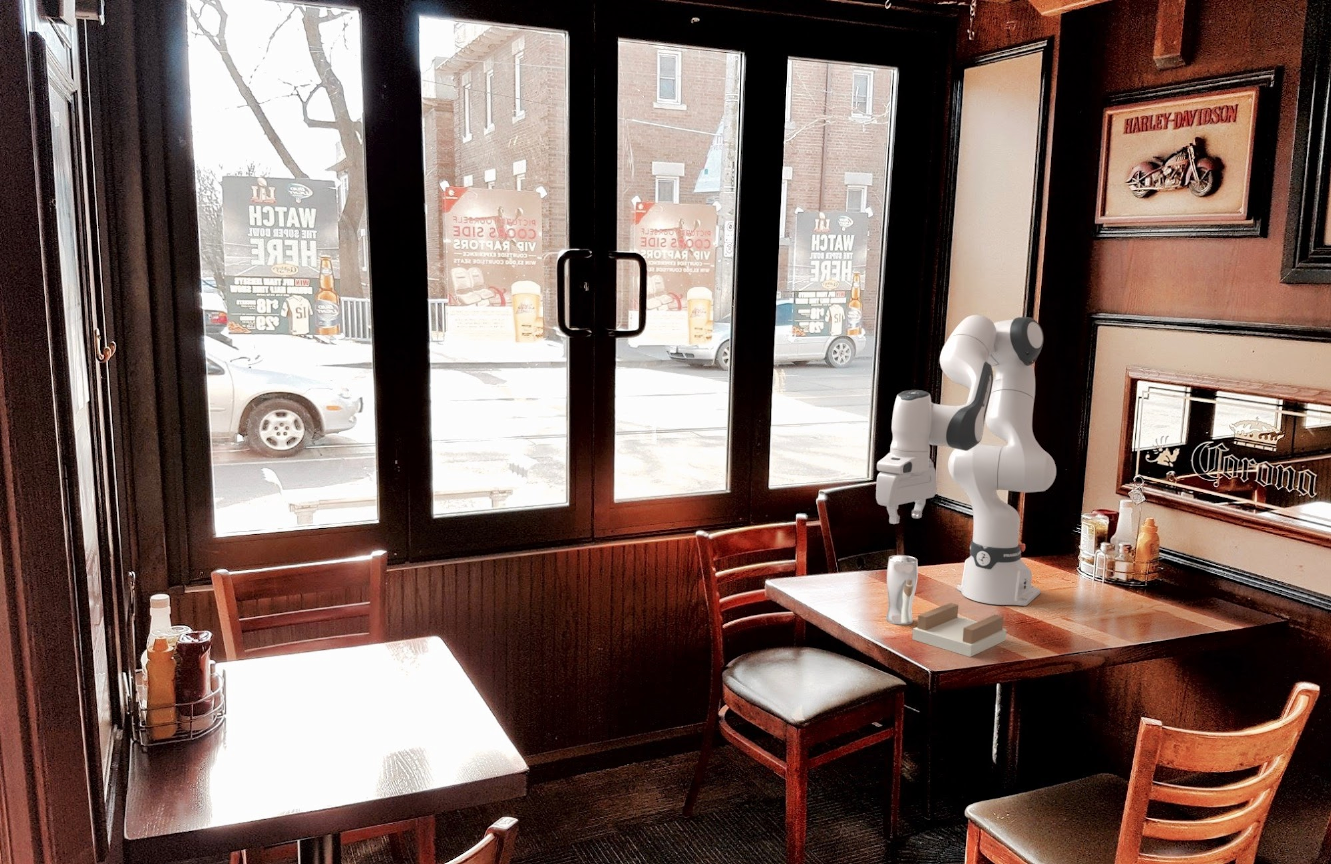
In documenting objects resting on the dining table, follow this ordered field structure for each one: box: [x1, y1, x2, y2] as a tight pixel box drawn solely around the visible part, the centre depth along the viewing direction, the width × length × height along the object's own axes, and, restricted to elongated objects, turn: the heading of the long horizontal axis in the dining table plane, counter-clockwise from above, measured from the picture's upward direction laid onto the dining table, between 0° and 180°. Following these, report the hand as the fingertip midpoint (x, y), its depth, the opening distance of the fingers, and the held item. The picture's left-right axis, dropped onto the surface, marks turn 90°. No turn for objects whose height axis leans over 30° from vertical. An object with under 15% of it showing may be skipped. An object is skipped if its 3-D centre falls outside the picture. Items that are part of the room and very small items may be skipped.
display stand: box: [911, 602, 1008, 658], centre depth 219 cm, size 16×14×6 cm
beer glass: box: [885, 554, 919, 626], centre depth 230 cm, size 7×7×15 cm
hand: (905, 520), depth 228 cm, fingers open, 8 cm apart
